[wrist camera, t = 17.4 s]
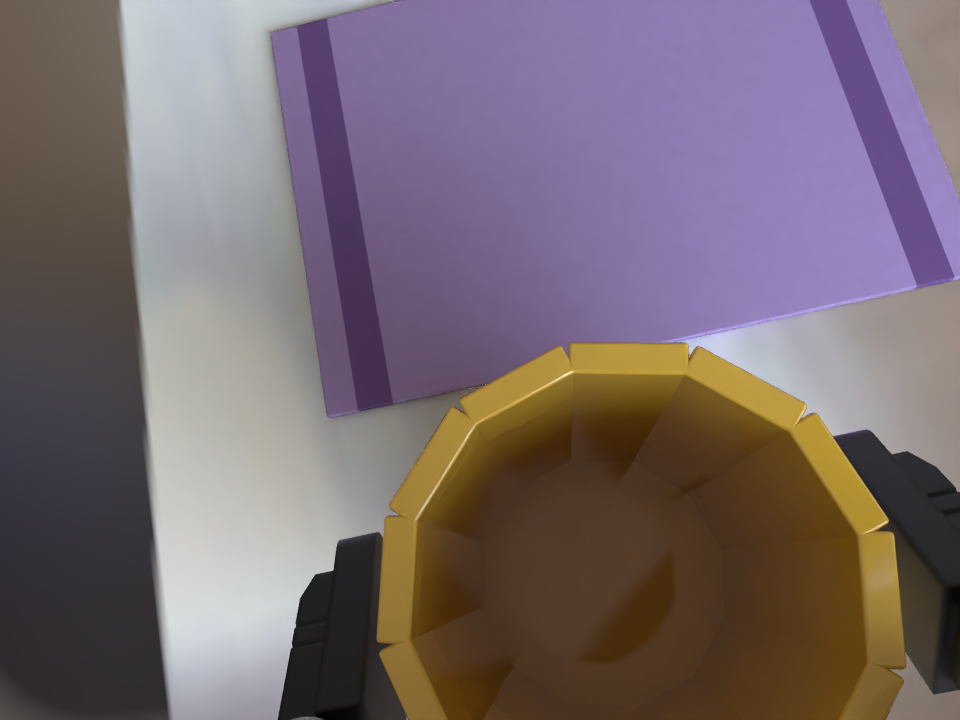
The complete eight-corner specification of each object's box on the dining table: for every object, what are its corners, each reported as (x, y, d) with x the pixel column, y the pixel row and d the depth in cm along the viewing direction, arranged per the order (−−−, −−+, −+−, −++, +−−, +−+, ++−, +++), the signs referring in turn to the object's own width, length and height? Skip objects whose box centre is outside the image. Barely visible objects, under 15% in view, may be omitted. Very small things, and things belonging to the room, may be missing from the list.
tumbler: (554, 399, 20) (542, 260, 11) (786, 534, 19) (994, 502, 10) (419, 621, 19) (283, 669, 10) (653, 782, 18) (744, 1011, 9)
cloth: (831, -101, 23) (835, -109, 23) (982, 274, 20) (988, 269, 20) (273, 38, 24) (269, 32, 24) (330, 418, 21) (326, 416, 20)
